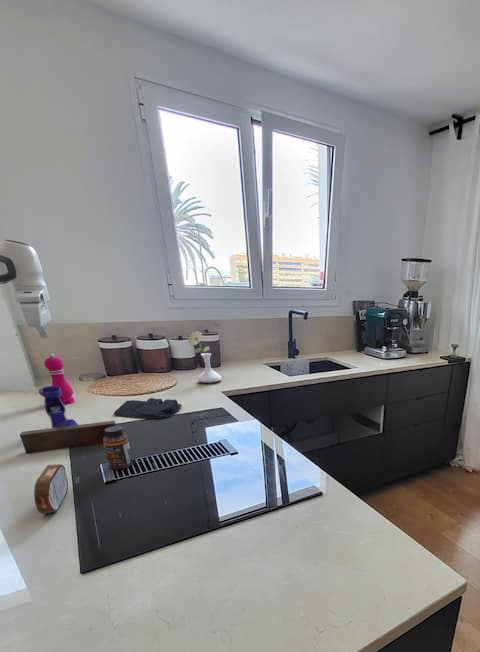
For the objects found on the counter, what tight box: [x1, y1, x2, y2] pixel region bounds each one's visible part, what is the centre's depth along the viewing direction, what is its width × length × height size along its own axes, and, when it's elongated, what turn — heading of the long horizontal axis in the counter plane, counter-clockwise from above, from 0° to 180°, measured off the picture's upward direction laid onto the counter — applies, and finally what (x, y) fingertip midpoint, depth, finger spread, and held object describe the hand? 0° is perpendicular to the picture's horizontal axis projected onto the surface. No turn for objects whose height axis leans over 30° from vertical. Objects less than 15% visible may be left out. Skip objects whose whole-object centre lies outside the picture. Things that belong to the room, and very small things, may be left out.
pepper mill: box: [43, 352, 75, 405], centre depth 157 cm, size 7×7×20 cm
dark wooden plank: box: [19, 420, 117, 455], centre depth 122 cm, size 24×3×6 cm, turn 118°
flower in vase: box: [187, 330, 222, 384], centre depth 191 cm, size 13×11×25 cm
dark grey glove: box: [113, 397, 183, 420], centre depth 153 cm, size 15×22×5 cm
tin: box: [33, 463, 69, 515], centre depth 91 cm, size 15×3×8 cm, turn 22°
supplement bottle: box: [102, 425, 134, 470], centre depth 109 cm, size 6×6×11 cm
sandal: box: [38, 385, 79, 428], centre depth 128 cm, size 8×20×15 cm, turn 39°
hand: (44, 337), depth 137 cm, fingers closed
